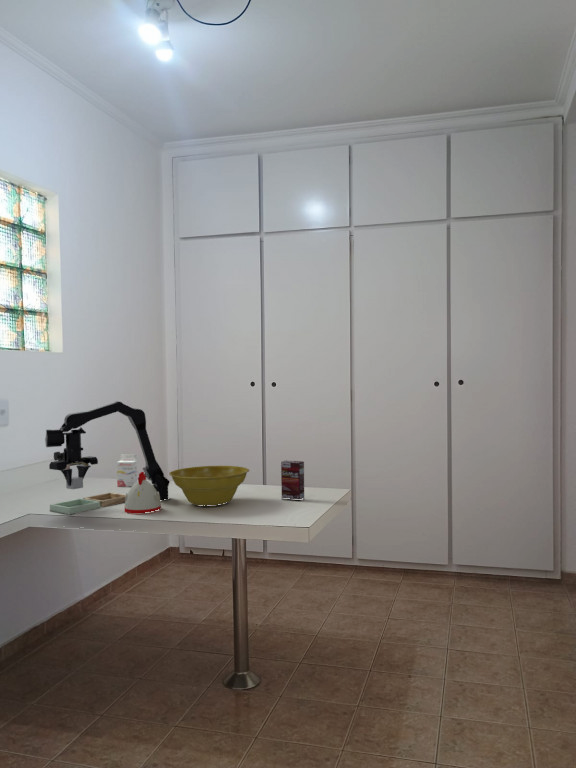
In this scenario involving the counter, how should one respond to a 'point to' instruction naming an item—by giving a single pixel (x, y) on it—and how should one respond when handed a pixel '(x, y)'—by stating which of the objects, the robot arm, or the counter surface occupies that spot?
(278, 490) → the counter surface
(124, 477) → the ink cartridge box
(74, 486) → the grey cube
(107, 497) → the oak tray
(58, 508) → the green bin
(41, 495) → the counter surface
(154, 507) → the kitchen timer
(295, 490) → the supplement box
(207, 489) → the planter bowl
